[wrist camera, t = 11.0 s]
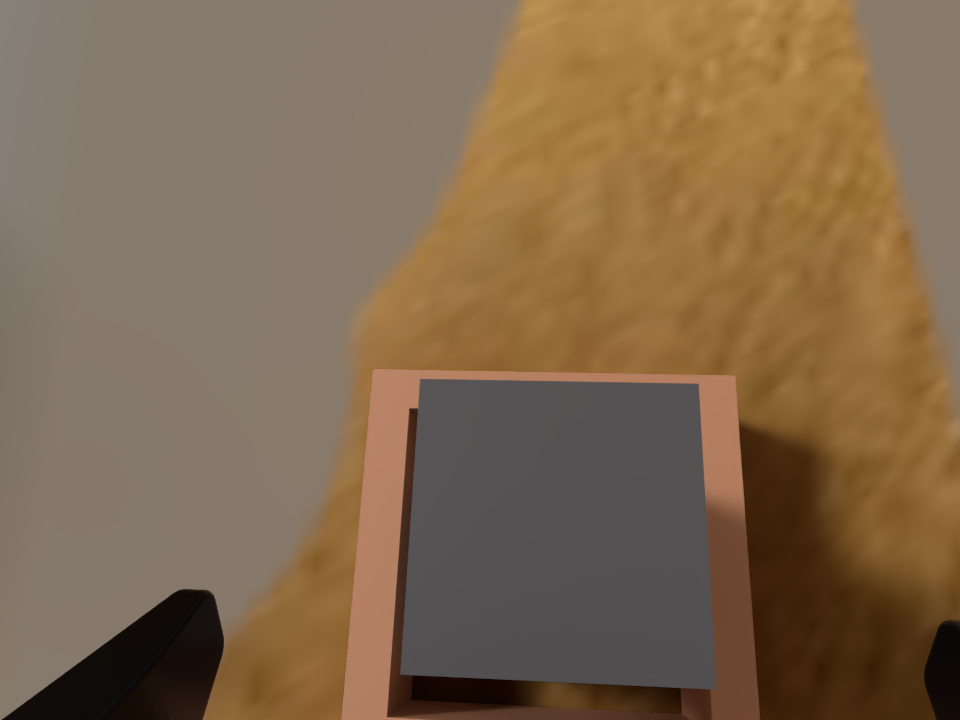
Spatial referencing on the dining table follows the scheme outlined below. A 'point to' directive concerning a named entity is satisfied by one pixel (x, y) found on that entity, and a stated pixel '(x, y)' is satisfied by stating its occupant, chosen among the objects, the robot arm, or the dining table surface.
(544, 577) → the plug
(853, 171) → the dining table surface
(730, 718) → the socket
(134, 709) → the robot arm
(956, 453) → the dining table surface
